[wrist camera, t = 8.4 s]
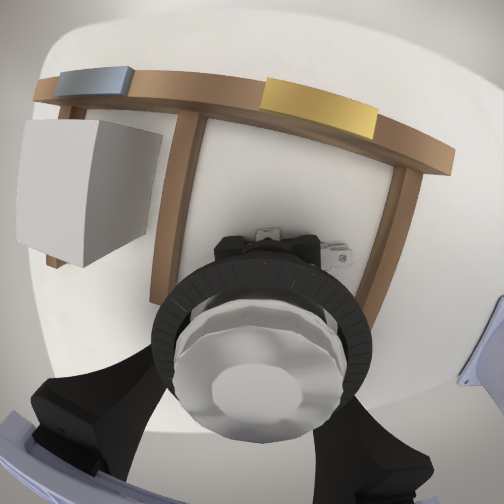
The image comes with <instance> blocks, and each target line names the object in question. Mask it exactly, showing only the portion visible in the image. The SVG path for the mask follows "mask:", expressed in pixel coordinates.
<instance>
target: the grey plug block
mask: <svg viewBox="0 0 504 504" xmlns="http://www.w3.org/2000/svg"><path fill="white" fill-rule="evenodd" d="M162 137H163V135H159V134H155V133H151V132H147V131H144V130H140V129H136V128H131V127H127V126H123V125H119V124H114V123H110V122H105V121H100V120H73V119H51V120H26V123H25V129H24V134H23V141H22V147H21V154H20V162H19V171H18V183H17V201H16V238H17V239H16V241H17V242H18V243H21V244H23V245H25V246H28V247H30V248H32V249H35V250H37V251H40V252H42V253H45V254H47V255H50V256H52V257H55V258H58V259H60V260H63V261H65V262H68V263H71V264H73V265H76V266H79V267H82V268H84V267H86V266H88V265H89V264H91V263H93V262H95V261H96V260H98V259H100V258H102V257H103V256H105V255H107V254H109V253H111V252H112V251H114V250H116V249H118V248H120V247H122V246H123V245H125V244H127V243H129V242H131V241H133V240H134V239H136V238H138V237H140V236H142V235H144V234H146V227H147V220H148V213H149V206H150V200H151V193H152V187H153V182H154V176H155V171H156V166H157V161H158V156H159V151H160V146H161V141H162Z"/></svg>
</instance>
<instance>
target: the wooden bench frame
mask: <svg viewBox="0 0 504 504" xmlns="http://www.w3.org/2000/svg"><path fill="white" fill-rule="evenodd" d="M33 101H35V102H41V103H47V104H52V105H58V106H61V107H60V111H59V116H58V119H73V120H84V118H85V113H86V109H117V110H137V111H151V112H163V113H173V114H178V119H177V123H176V127H175V131H174V136H173V140H172V145H171V150H170V154H169V159H168V164H167V170H166V175H165V180H164V186H163V192H162V198H161V204H160V210H159V217H158V224H157V231H156V239H155V247H154V256H153V265H152V275H151V287H150V300H149V302H151V303H154V304H157V305H162V303H163V302H164V300H165V299H166V297H167V296H168V295H169V294H170V293H171V291H172V290H173V289H174V288H175V287H176V283H177V276H178V269H179V262H180V255H181V248H182V242H183V235H184V229H185V223H186V217H187V212H188V206H189V201H190V195H191V190H192V185H193V180H194V175H195V170H196V165H197V161H198V156H199V151H200V147H201V142H202V138H203V134H204V129H205V125H206V121H207V118H211V119H218V120H224V121H230V122H235V123H241V124H246V125H251V126H256V127H261V128H266V129H270V130H275V131H279V132H283V133H288V134H292V135H296V136H300V137H303V138H307V139H311V140H315V141H318V142H322V143H325V144H329V145H332V146H335V147H339V148H342V149H345V150H348V151H351V152H355V153H358V154H361V155H364V156H366V157H369V158H372V159H375V160H378V161H381V162H383V163H386V164H389V165H391V166H394V167H395V169H394V174H393V178H392V182H391V186H390V190H389V194H388V198H387V202H386V205H385V209H384V213H383V216H382V220H381V223H380V227H379V230H378V233H377V236H376V240H375V243H374V246H373V249H372V252H371V255H370V258H369V261H368V264H367V267H366V270H365V273H364V276H363V278H362V281H361V284H360V287H359V289H358V292H357V295H356V297H355V299H356V301H357V302H358V304H359V306H360V307H361V309H362V311H363V313H364V315H365V317H366V319H367V322H368V324H369V327H370V331H371V329H372V327H373V324H374V322H375V320H376V318H377V315H378V313H379V311H380V308H381V306H382V303H383V301H384V299H385V296H386V294H387V291H388V289H389V286H390V283H391V281H392V278H393V275H394V273H395V270H396V267H397V264H398V261H399V259H400V256H401V253H402V250H403V247H404V244H405V240H406V237H407V234H408V231H409V228H410V224H411V221H412V217H413V214H414V210H415V206H416V203H417V199H418V195H419V191H420V187H421V182H422V178H423V174H434V175H446V176H451V171H452V166H453V161H454V155H455V149H454V148H452V147H450V146H449V145H447V144H445V143H443V142H441V141H439V140H437V139H435V138H433V137H431V136H429V135H427V134H425V133H422V132H420V131H418V130H416V129H414V128H411V127H409V126H407V125H405V124H402V123H400V122H398V121H395V120H393V119H390V118H388V117H385V116H383V115H380V114H378V108H375V107H372V106H370V105H367V104H364V103H361V102H358V101H355V100H352V99H349V98H346V97H343V96H340V95H337V94H333V93H330V92H327V91H323V90H320V89H316V88H312V87H308V86H304V85H300V84H296V83H292V82H287V81H283V80H278V79H273V78H268V77H267V81H266V82H263V81H257V80H252V79H246V78H239V77H232V76H225V75H217V74H207V73H196V72H183V71H161V70H134V69H132V68H130V67H129V66H121V67H104V68H93V69H83V70H75V71H68V72H61V73H60V76H58V77H52V78H46V79H40V80H38V83H37V86H36V90H35V94H34V97H33ZM66 263H68V262H65V261H63V260H60V259H58V258H55V257H52V256H50V255H47V254H46V265H48V266H51V267H53V268H56V269H57V268H59V267H61V266H63V265H64V264H66Z"/></svg>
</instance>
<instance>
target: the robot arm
mask: <svg viewBox="0 0 504 504" xmlns="http://www.w3.org/2000/svg"><path fill="white" fill-rule="evenodd" d="M457 384H458V386H480V385H483V386H484V388H485V389H486V391H487V392H488V393H489V395H490V396H491V397H492V399H493V400H494V402H495V403H496V404H497V406H498V407H499V409H500V410H501V412H502V413H503V415H504V297H502V298H501V299H500V301H499V303H498V305H497V308H496V310H495V312H494V314H493V316H492V319H491V321H490V323H489V325H488V327H487V329H486V331H485V333H484V335H483V337H482V339H481V341H480V342H479V344H478V346H477V348H476V350H475V351H474V353H473V355H472V357H471V358H470V360H469V362H468V363H467V365H466V367H465V368H464V370H463V372H462V373H461V375H460V376H459V378H458V380H457ZM166 388H167V387H166V385H165V384H164V382H163V381H162V379H161V377H160V375H159V373H158V371H157V369H156V366H155V363H154V360H153V355H152V348H151V344H150V345H149V346H147V347H146V348H144V349H143V350H141V351H139V352H138V353H136V354H134V355H133V356H131V357H129V358H127V359H125V360H123V361H121V362H119V363H117V364H115V365H112V366H110V367H107V368H105V369H101V370H98V371H95V372H91V373H88V374H83V375H78V376H72V377H63V378H49V379H48V380H46V381H45V382H44V383H43V384H42V385H41V386H40V387H39V389H38V390H37V391H36V392H35V393H34V394H33V396H32V397H31V404H32V407H33V410H34V412H35V414H36V416H37V418H38V420H39V422H40V425H39V426H38V428H37V429H36V427H35V426H34V425H33V424H32V423H31V422H29V421H28V420H27V419H25V418H24V417H23V416H21V415H20V414H19V413H18V412H16V411H14V410H13V411H12V412H11V413H10V414H9V415H8V416H7V417H6V419H5V420H4V421H3V422H2V423H1V424H0V462H1V463H2V465H3V466H4V467H5V468H6V469H7V470H8V471H9V472H10V473H11V474H13V475H14V476H15V477H16V478H18V479H19V480H20V481H21V482H22V483H24V484H25V485H26V486H28V487H29V488H30V489H31V490H33V491H34V492H36V493H37V494H38V495H40V496H41V497H42V498H44V499H45V500H47V501H48V502H50V503H51V504H188V503H185V502H181V501H178V500H174V499H171V498H168V497H164V496H161V495H158V494H155V493H152V492H150V491H147V490H144V489H141V488H139V487H136V486H134V485H131V484H129V483H126V480H127V476H128V473H129V470H130V467H131V464H132V461H133V459H134V456H135V453H136V450H137V448H138V445H139V442H140V440H141V437H142V435H143V432H144V430H145V427H146V425H147V423H148V421H149V419H150V417H151V415H152V413H153V411H154V410H155V408H156V406H157V404H158V403H159V401H160V399H161V397H162V396H163V394H164V392H165V390H166ZM313 436H314V443H315V453H316V472H315V488H314V496H313V504H440V503H439V500H438V497H432V498H428V499H424V500H421V501H418V502H416V503H414V501H413V498H415V497H416V493H415V490H416V489H418V488H419V487H420V486H421V485H423V484H424V483H425V482H426V481H427V480H428V479H429V478H431V476H432V475H433V473H434V468H433V465H432V463H431V460H430V457H429V456H427V455H425V454H423V453H421V452H419V451H417V450H414V449H413V448H411V447H409V446H408V445H406V444H405V443H403V442H401V441H400V440H399V439H397V438H396V437H394V436H393V435H392V434H391V433H389V432H388V431H387V430H386V429H384V428H383V427H382V426H381V425H380V424H379V423H378V422H377V421H376V420H375V419H374V418H373V417H372V416H371V415H370V414H369V413H368V412H367V410H366V409H365V408H364V407H363V406H362V404H361V403H360V402H359V401H358V399H357V398H356V397H355V396H353V397H352V398H351V399H350V400H349V401H348V402H347V403H346V404H345V405H344V406H343V407H342V408H341V409H339V410H338V411H337V412H335V413H334V414H332V415H331V416H330V418H329V419H328V420H326V421H325V422H324V423H323V424H322V425H321V426H319V427H317V428H315V429H314V430H313Z"/></svg>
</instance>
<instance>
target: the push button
mask: <svg viewBox="0 0 504 504" xmlns="http://www.w3.org/2000/svg"><path fill="white" fill-rule="evenodd" d="M266 231H271V232H266ZM337 249H341V250H337ZM341 254H342V255H341ZM214 255H215V262H212V263H209V264H207V265H205V266H203V267H201V268H199V269H197V270H196V271H194V272H193V273H191V274H190V275H188V276H187V277H186V278H184V279H183V280H182V281H181V282H180V283H179V284H178V285H177V286H176V287H175V288H174V289H173V290H172V291H171V293H170V294H169V295H168V296H167V297H166V299H165V300H164V302H163V303H162V305H161V306H160V308H159V310H158V312H157V314H156V317H155V320H154V323H153V328H152V333H151V348H152V355H153V360H154V363H155V366H156V369H157V371H158V373H159V375H160V377H161V379H162V381H163V382H164V384H165V385H166V387H167V388H168V389H169V391H170V392H171V393H172V394H173V395H174V396H175V398H176V399H177V400H178V401H180V404H181V406H182V407H183V408H184V409H185V410H186V411H187V412H188V413H189V414H190V415H191V417H192V418H193V419H194V420H195V421H196V422H198V423H199V424H200V425H201V426H203V427H205V428H207V429H209V430H211V431H213V432H215V433H218V434H220V435H222V436H223V437H225V438H229V439H233V440H239V441H246V442H253V443H262V444H264V443H271V442H278V441H285V440H291V439H295V438H298V437H301V436H302V435H304V434H306V433H308V432H310V431H312V430H314V429H315V428H317V427H319V426H321V425H322V424H323V423H324V422H325V421H326V420H328V419H329V418H330V416H331V415H332V414H334V413H335V412H337V411H338V410H339V409H341V408H342V407H343V406H344V405H345V404H346V403H347V402H348V401H349V400H350V399H351V398H352V397H353V396H354V395H355V394H356V392H357V391H358V390H359V388H360V387H361V385H362V383H363V381H364V379H365V378H366V375H367V373H368V370H369V367H370V363H371V359H372V337H371V331H370V327H369V324H368V322H367V319H366V317H365V315H364V313H363V311H362V309H361V307H360V306H359V304H358V302H357V301H356V299H355V298H354V296H353V295H352V294H351V293H350V292H349V290H348V289H347V288H346V287H345V286H344V285H343V284H342V283H340V282H339V281H338V280H337V279H336V278H334V277H333V276H332V275H330V274H329V273H327V272H326V270H331V267H339V266H351V265H352V250H351V249H349V250H348V246H347V245H333V246H327V243H320V240H319V239H318V237H317V236H316V235H303V236H300V237H298V238H296V239H284V240H280V234H279V228H270V229H260V230H257V233H256V242H243V239H242V237H241V236H229V237H224V238H222V240H221V241H220V242H219V243H218V245H217V246H216V247H215V248H214ZM340 255H341V256H340ZM339 260H345V261H344V262H340V261H339ZM209 297H212V298H211V299H210V300H209V301H208V303H207V304H206V306H205V308H204V310H203V311H202V313H201V314H199V315H198V316H197V317H195V318H194V319H193V320H192V322H191V323H190V317H191V311H192V309H193V308H195V307H196V306H197V305H198V304H200V303H201V302H203V301H204V300H206V299H208V298H209ZM323 308H324V309H325V310H326V311H327V312H329V313H330V314H331V315H332V316H333V318H334V319H335V320H336V321H337V323H338V329H337V335H336V334H335V333H334V332H333V331H332V330H331V329H330V328H329V327H328V326H327V322H326V318H325V314H324V311H323Z"/></svg>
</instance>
